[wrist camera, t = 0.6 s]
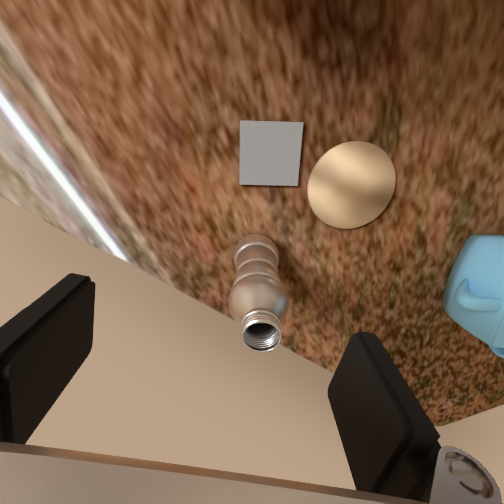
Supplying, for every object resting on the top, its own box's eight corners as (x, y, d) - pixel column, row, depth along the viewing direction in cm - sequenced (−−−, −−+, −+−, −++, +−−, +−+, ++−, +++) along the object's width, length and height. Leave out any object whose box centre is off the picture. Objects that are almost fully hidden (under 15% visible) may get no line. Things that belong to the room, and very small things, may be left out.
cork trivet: (321, 132, 38) (322, 132, 38) (406, 151, 39) (409, 151, 39) (297, 218, 43) (298, 220, 42) (374, 233, 44) (376, 235, 44)
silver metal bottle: (261, 275, 47) (271, 374, 29) (225, 254, 45) (211, 344, 27) (286, 244, 45) (313, 330, 26) (249, 220, 43) (251, 294, 25)
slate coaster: (240, 120, 38) (240, 120, 37) (302, 122, 38) (303, 122, 37) (239, 183, 41) (239, 184, 40) (296, 184, 41) (297, 185, 40)
